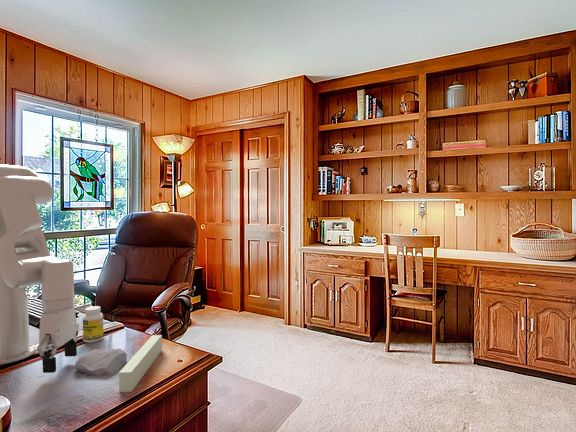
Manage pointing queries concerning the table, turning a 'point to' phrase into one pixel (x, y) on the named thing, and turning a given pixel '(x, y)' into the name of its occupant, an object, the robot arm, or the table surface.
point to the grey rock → (101, 361)
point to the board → (139, 364)
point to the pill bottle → (92, 324)
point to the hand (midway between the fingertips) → (60, 363)
